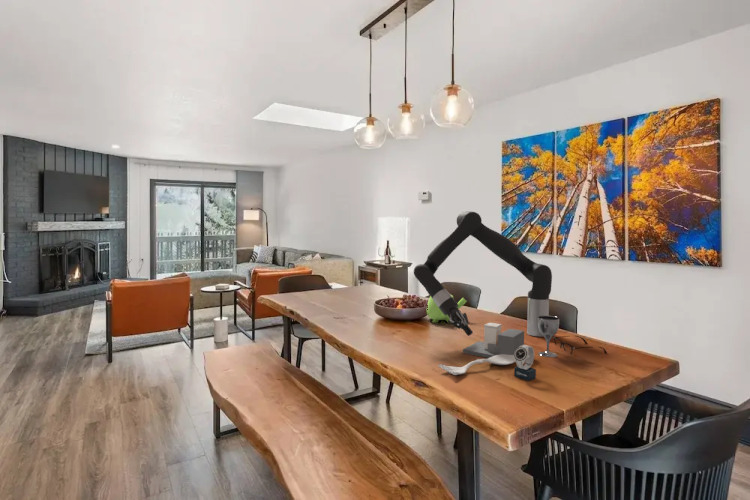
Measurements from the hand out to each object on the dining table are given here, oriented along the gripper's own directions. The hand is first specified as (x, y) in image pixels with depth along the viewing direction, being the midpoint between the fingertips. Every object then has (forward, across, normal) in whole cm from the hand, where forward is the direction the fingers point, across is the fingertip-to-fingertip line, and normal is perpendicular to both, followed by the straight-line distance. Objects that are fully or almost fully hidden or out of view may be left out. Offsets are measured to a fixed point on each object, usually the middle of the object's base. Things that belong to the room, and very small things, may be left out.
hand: (470, 334), depth 178 cm
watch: (+25, -19, -16) cm, 35 cm away
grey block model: (+12, 0, -3) cm, 12 cm away
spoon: (+14, -20, -5) cm, 25 cm away
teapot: (-19, +41, +28) cm, 53 cm away
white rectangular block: (+10, 0, -4) cm, 10 cm away
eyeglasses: (+30, +28, -21) cm, 46 cm away
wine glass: (+24, +12, -15) cm, 31 cm away
